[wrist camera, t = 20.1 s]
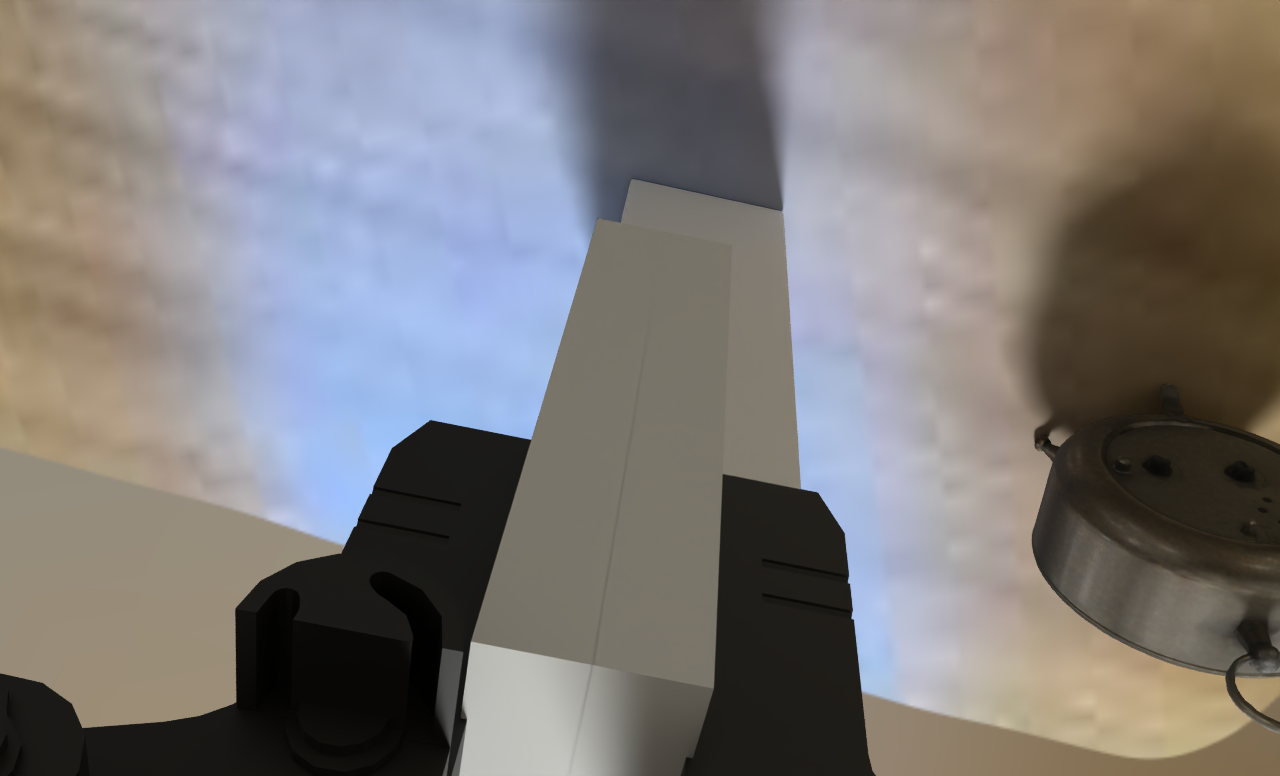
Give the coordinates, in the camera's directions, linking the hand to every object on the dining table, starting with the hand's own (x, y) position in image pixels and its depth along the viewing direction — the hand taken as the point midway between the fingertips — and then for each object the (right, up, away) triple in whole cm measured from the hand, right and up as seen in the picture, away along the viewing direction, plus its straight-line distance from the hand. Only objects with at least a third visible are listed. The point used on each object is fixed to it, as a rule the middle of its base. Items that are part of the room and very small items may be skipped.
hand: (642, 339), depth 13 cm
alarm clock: (+21, -2, +34) cm, 40 cm away
